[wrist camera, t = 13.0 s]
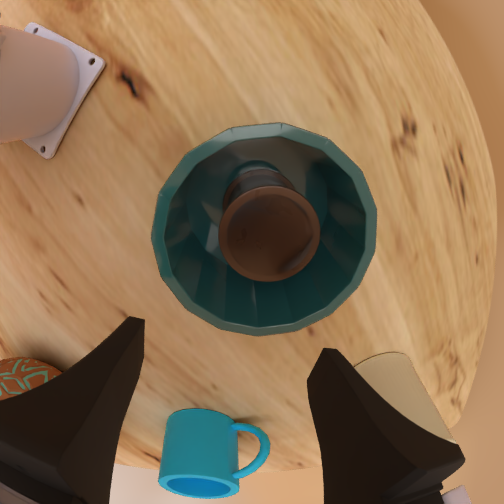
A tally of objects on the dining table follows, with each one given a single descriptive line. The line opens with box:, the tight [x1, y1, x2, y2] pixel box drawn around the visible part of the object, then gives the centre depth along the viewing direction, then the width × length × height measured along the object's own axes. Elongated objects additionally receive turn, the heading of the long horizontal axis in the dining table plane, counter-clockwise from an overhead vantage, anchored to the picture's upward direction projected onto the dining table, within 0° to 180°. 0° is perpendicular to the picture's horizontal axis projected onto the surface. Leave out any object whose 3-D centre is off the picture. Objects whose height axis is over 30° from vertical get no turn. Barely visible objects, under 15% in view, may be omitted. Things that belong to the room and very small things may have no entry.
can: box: [354, 352, 456, 444], centre depth 22 cm, size 9×9×12 cm
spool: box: [218, 168, 320, 282], centre depth 16 cm, size 5×5×6 cm
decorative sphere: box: [0, 357, 62, 400], centre depth 19 cm, size 15×15×15 cm
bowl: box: [151, 122, 377, 336], centre depth 16 cm, size 10×10×7 cm
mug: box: [158, 409, 270, 499], centre depth 25 cm, size 12×8×8 cm
